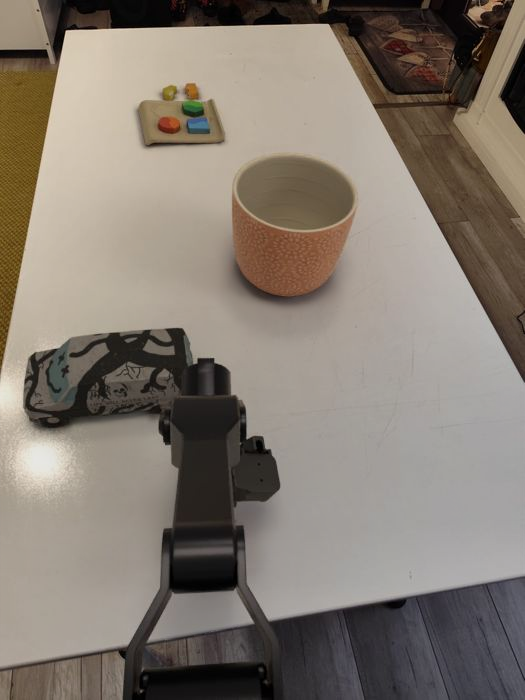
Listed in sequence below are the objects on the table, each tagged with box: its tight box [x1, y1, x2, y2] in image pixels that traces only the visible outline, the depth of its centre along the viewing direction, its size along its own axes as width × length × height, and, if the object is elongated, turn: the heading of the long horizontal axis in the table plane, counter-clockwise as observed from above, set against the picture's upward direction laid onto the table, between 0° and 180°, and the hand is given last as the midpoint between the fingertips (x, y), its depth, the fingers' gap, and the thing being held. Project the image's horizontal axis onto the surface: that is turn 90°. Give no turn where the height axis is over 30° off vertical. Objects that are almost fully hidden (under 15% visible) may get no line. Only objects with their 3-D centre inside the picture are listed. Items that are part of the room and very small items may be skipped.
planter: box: [231, 152, 359, 297], centre depth 93 cm, size 21×21×19 cm
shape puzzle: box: [138, 82, 226, 146], centre depth 128 cm, size 25×19×3 cm
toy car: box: [22, 327, 194, 429], centre depth 78 cm, size 11×25×10 cm, turn 100°
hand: (207, 512), depth 70 cm, fingers closed
